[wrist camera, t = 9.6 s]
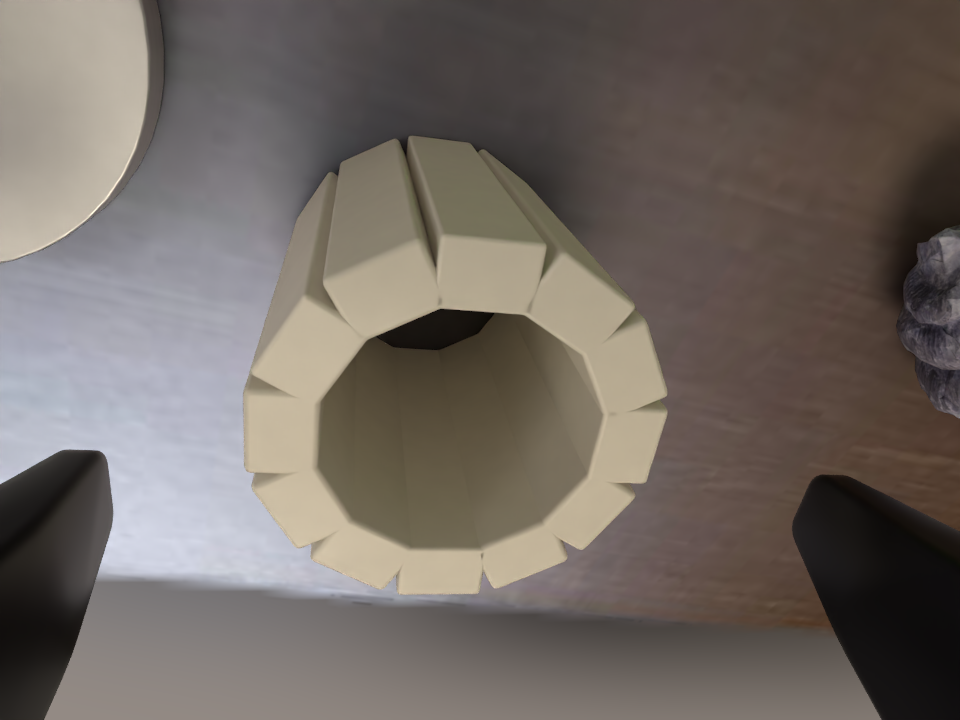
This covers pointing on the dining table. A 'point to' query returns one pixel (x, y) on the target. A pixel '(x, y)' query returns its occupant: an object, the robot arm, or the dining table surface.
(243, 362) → the dining table surface
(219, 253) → the dining table surface
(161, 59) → the stand
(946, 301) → the seashell
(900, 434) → the dining table surface
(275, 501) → the beige fluted tube
